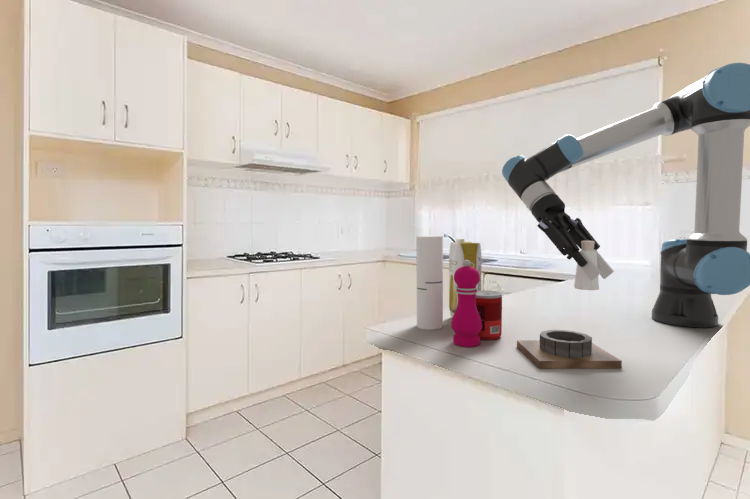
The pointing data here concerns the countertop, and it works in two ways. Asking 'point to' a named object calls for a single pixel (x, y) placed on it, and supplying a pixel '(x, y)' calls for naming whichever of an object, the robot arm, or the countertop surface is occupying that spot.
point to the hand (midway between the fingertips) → (602, 275)
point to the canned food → (490, 314)
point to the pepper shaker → (581, 278)
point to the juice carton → (456, 258)
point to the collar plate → (565, 361)
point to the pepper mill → (466, 307)
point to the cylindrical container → (429, 282)
